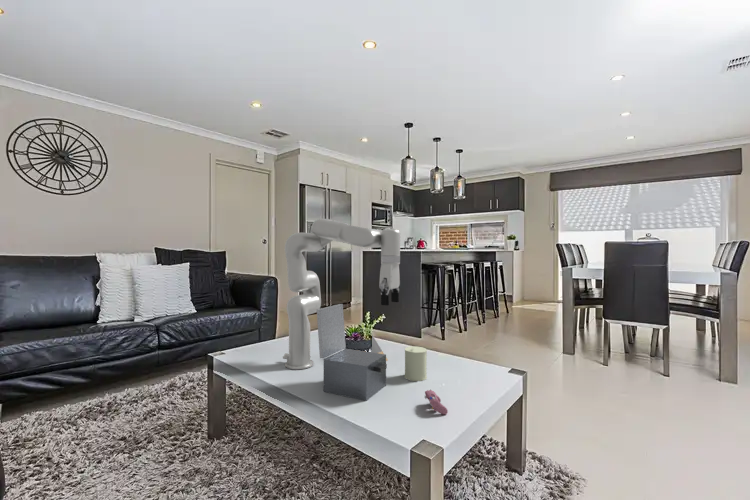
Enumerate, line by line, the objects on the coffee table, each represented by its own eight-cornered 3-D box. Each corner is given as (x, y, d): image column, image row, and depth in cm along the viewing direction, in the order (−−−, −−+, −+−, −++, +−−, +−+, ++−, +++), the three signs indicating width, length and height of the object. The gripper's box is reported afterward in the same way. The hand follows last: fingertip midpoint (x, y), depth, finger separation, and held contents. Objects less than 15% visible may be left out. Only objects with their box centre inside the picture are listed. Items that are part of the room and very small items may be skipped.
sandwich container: (376, 364, 165) (376, 331, 165) (353, 357, 176) (353, 326, 176) (389, 360, 172) (389, 329, 172) (366, 354, 182) (366, 324, 182)
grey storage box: (323, 391, 133) (323, 359, 133) (346, 377, 147) (346, 348, 147) (373, 402, 124) (373, 367, 124) (392, 386, 138) (392, 355, 138)
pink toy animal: (429, 407, 124) (420, 389, 124) (441, 400, 124) (432, 382, 124) (436, 420, 114) (427, 401, 114) (449, 413, 115) (439, 394, 114)
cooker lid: (323, 358, 133) (316, 358, 135) (345, 348, 148) (339, 347, 149) (319, 309, 134) (313, 309, 135) (342, 303, 148) (336, 304, 150)
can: (399, 377, 148) (400, 348, 148) (413, 371, 155) (413, 344, 155) (418, 383, 142) (418, 352, 142) (431, 377, 149) (431, 348, 149)
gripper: (390, 259, 152) (390, 300, 152) (372, 260, 137) (372, 305, 137) (407, 260, 149) (407, 301, 149) (390, 261, 134) (390, 307, 134)
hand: (390, 303), depth 143 cm, fingers open, 9 cm apart
